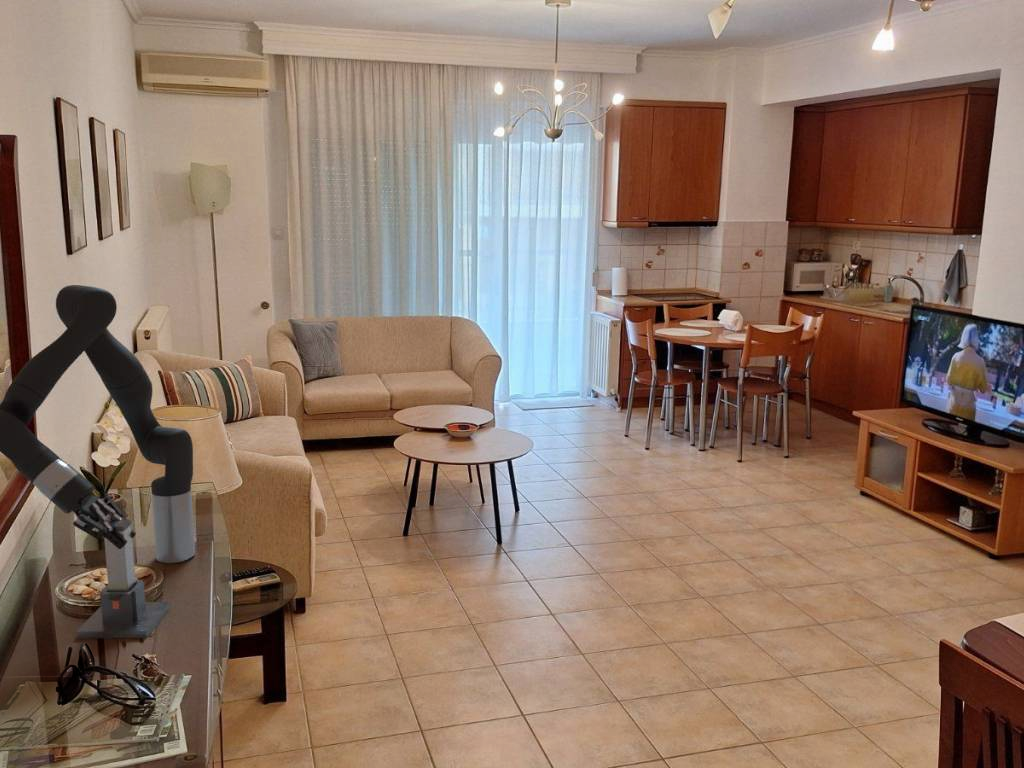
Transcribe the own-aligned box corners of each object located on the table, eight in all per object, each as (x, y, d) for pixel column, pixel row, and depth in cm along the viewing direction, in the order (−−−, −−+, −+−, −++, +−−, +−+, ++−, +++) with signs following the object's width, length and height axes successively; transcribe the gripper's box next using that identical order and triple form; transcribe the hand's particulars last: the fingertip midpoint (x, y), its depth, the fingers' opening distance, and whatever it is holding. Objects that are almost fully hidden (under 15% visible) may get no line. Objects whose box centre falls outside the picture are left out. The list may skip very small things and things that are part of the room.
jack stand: (105, 608, 197) (102, 574, 196) (170, 608, 198) (167, 573, 196) (76, 638, 184) (73, 601, 182) (146, 637, 184) (143, 600, 183)
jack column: (117, 591, 191) (111, 520, 189) (136, 591, 192) (130, 520, 189) (109, 599, 187) (103, 526, 184) (128, 599, 188) (123, 526, 185)
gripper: (60, 483, 177) (127, 541, 180) (90, 463, 191) (152, 518, 194) (35, 509, 178) (102, 567, 181) (67, 487, 192) (129, 541, 195)
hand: (128, 541), depth 187 cm, fingers closed on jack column, 4 cm apart
